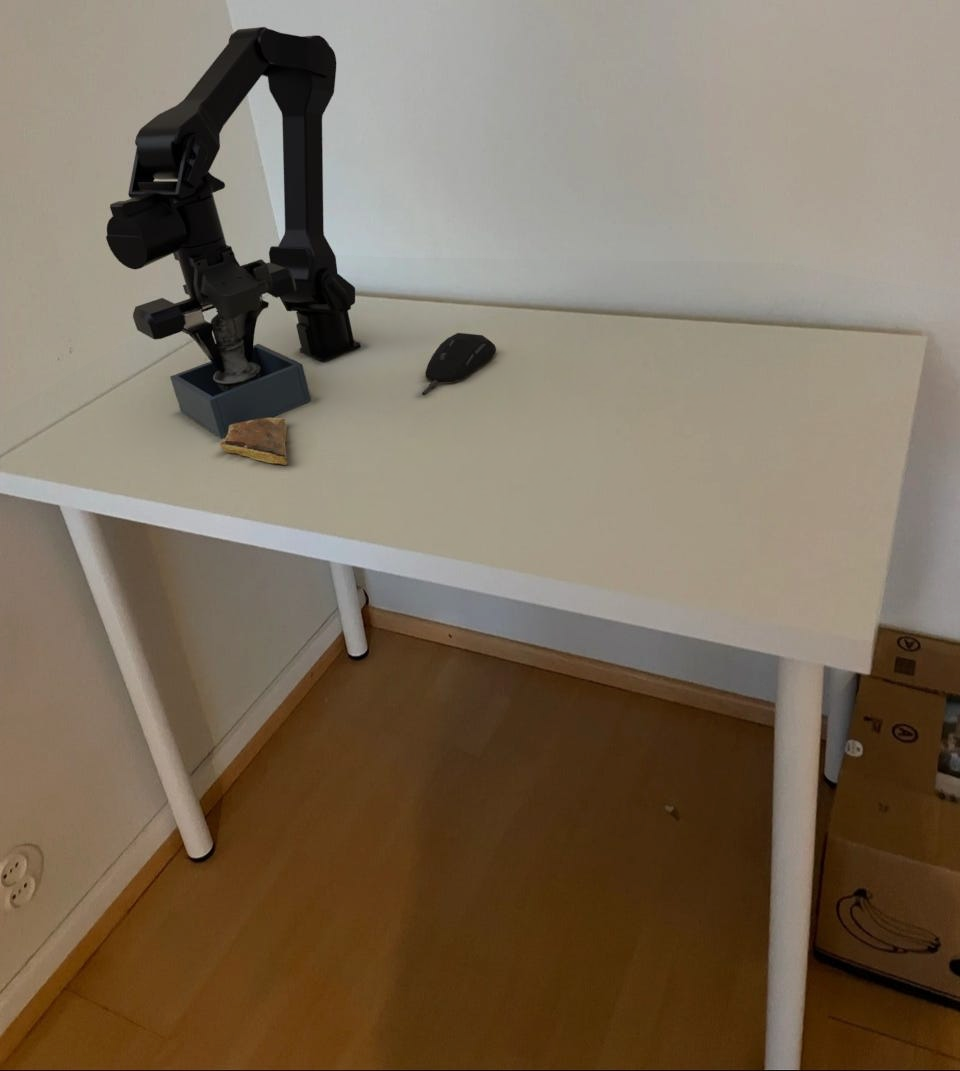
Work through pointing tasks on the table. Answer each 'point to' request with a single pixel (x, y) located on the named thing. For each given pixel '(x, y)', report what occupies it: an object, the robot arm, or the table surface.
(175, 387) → the bin
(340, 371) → the table surface
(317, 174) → the robot arm
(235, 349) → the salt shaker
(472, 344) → the gaming mouse
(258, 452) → the shard
